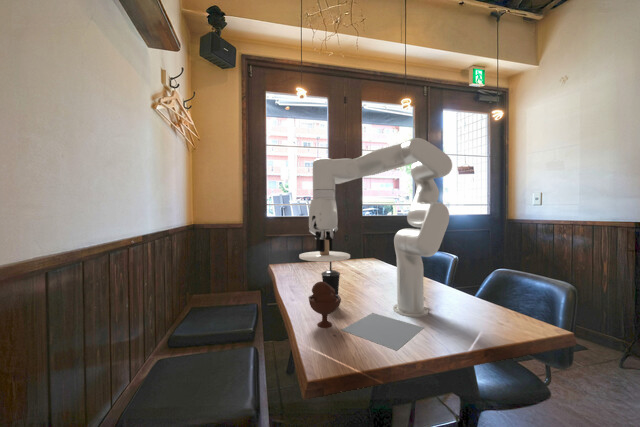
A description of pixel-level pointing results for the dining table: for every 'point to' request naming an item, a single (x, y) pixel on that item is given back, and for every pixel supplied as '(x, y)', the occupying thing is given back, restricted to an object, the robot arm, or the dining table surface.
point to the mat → (383, 330)
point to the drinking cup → (331, 278)
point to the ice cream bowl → (324, 302)
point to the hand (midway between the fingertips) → (324, 250)
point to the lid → (324, 255)
